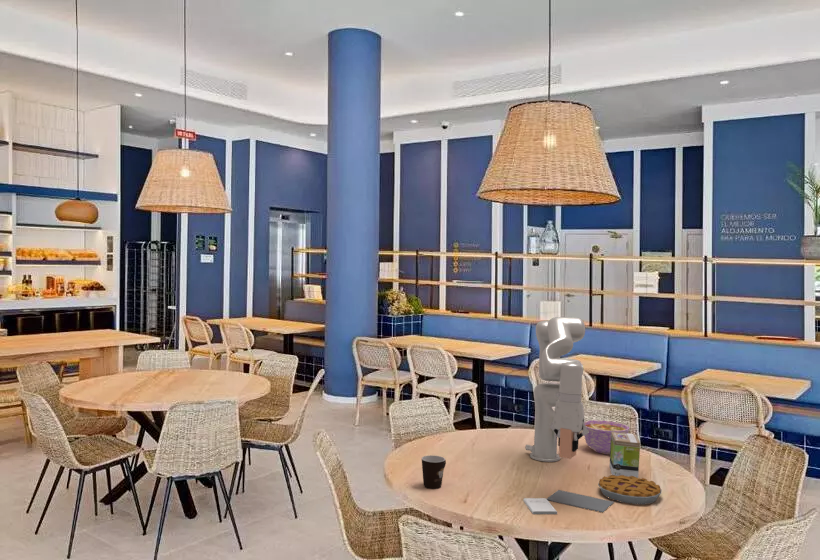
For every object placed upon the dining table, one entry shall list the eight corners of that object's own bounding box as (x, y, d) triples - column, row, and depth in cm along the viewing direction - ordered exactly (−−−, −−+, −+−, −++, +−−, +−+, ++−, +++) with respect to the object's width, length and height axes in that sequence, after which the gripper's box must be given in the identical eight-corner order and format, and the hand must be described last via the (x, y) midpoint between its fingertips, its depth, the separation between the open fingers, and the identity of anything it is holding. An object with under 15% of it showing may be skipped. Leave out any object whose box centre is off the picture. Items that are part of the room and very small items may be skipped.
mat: (546, 499, 239) (546, 498, 239) (558, 490, 249) (558, 489, 249) (603, 513, 228) (603, 511, 228) (613, 502, 238) (613, 501, 238)
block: (559, 456, 239) (560, 428, 239) (565, 452, 244) (566, 425, 244) (570, 458, 237) (571, 430, 237) (576, 455, 242) (577, 426, 242)
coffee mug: (427, 491, 243) (428, 463, 243) (416, 483, 251) (417, 456, 251) (455, 487, 249) (456, 459, 249) (443, 480, 256) (444, 453, 256)
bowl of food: (603, 443, 318) (604, 418, 317) (637, 454, 301) (638, 428, 300) (571, 448, 307) (572, 422, 307) (605, 460, 290) (606, 433, 290)
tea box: (639, 480, 264) (640, 442, 264) (612, 477, 266) (613, 440, 266) (634, 469, 279) (636, 433, 279) (608, 466, 281) (610, 430, 281)
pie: (606, 481, 262) (607, 468, 262) (666, 493, 251) (667, 479, 250) (590, 497, 243) (590, 483, 243) (654, 511, 232) (655, 496, 232)
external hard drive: (532, 516, 225) (523, 502, 237) (557, 516, 225) (546, 502, 238) (532, 511, 224) (523, 497, 237) (557, 511, 225) (546, 497, 238)
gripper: (543, 396, 241) (541, 447, 242) (590, 402, 232) (587, 456, 233) (551, 393, 248) (549, 443, 248) (597, 399, 239) (594, 451, 239)
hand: (568, 449), depth 241 cm, fingers closed on block, 4 cm apart
